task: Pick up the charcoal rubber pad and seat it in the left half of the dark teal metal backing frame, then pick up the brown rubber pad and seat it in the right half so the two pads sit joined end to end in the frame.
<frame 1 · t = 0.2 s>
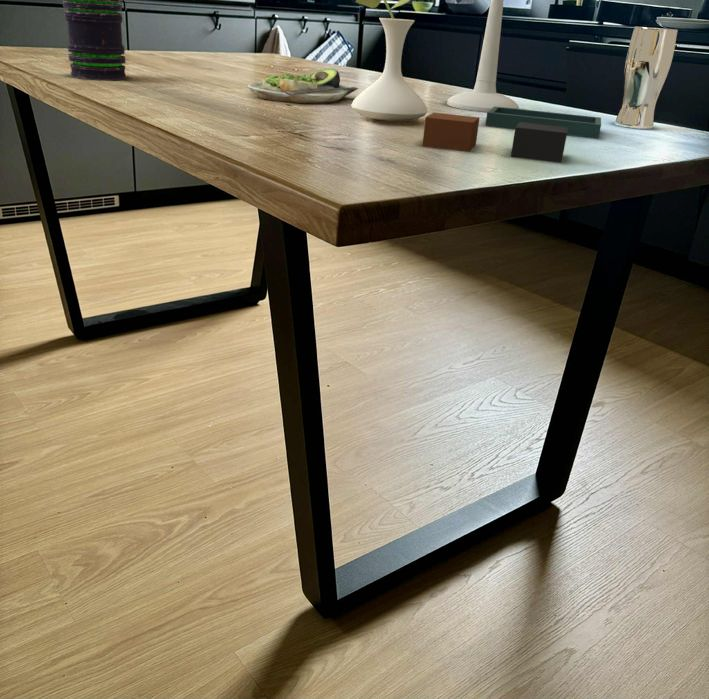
storage jar: (98, 77, 132), on the table
salad plate: (301, 97, 126), on the table
pad a: (537, 156, 88), on the table
flower in vase: (383, 120, 108), on the table
frame: (542, 128, 110), on the table
beer glass: (633, 127, 120), on the table
pad b: (449, 145, 91), on the table
candlestick: (482, 108, 130), on the table
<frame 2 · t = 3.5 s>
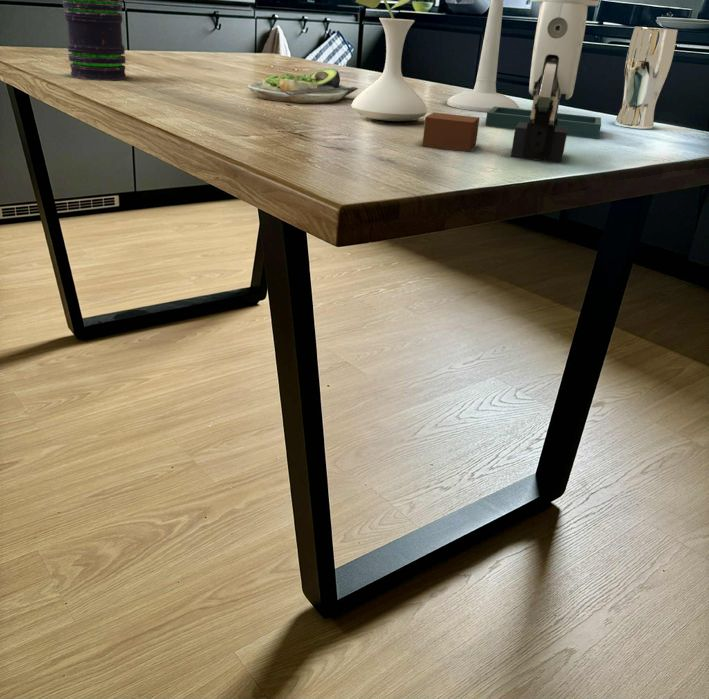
hand: (537, 152, 88), 0 cm above the table, tool pointing down, fingers closed on pad a, 5 cm apart
pad a: (537, 156, 88), on the table, touching gripper
everything else where it was.
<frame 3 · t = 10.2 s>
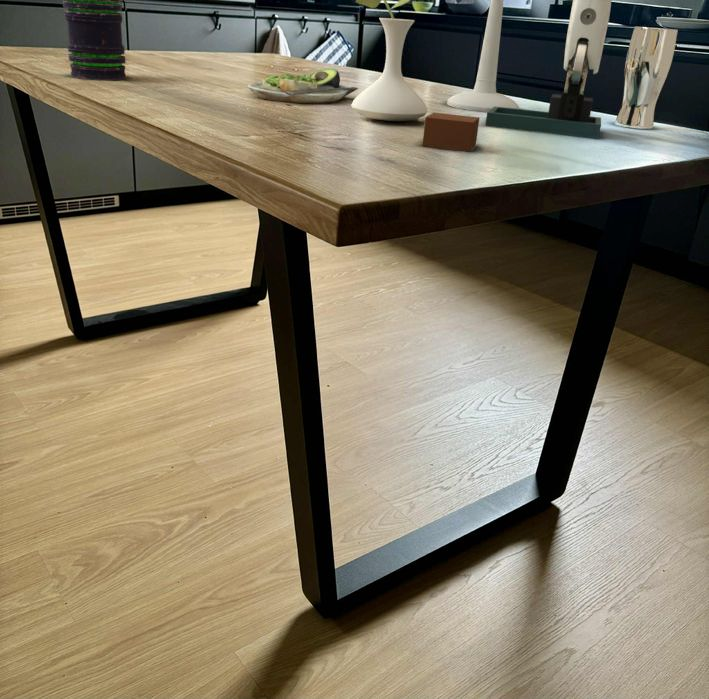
hand: (568, 118, 109), 2 cm above the table, tool pointing down, fingers closed on pad a, 5 cm apart
pad a: (567, 121, 109), point 1 cm above the table, touching gripper
everything else where it was.
when the fingers open (2 cm above the table, at t = 14.5 s): pad a drops 1 cm, resting on frame.
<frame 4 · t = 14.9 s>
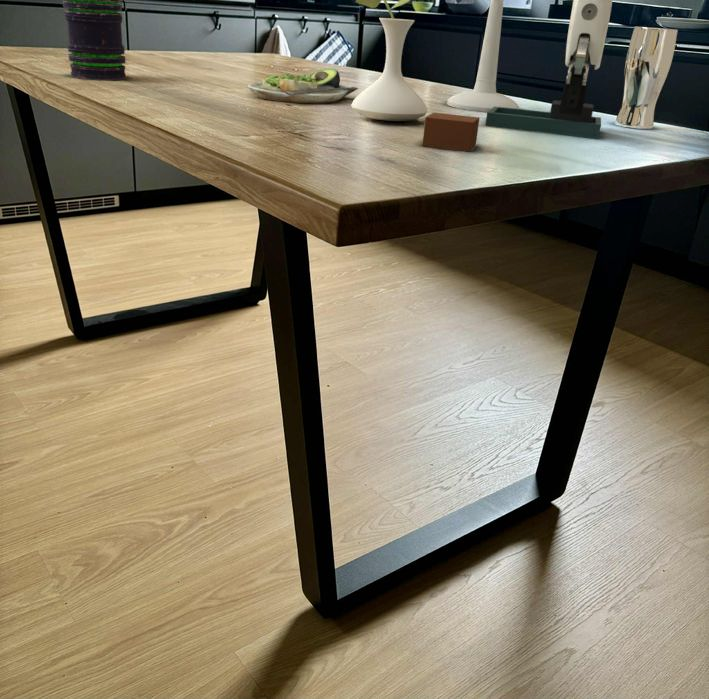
hand: (571, 110, 108), 3 cm above the table, tool pointing down, fingers open, 8 cm apart
pad a: (568, 127, 109), resting on frame
everything else where it was.
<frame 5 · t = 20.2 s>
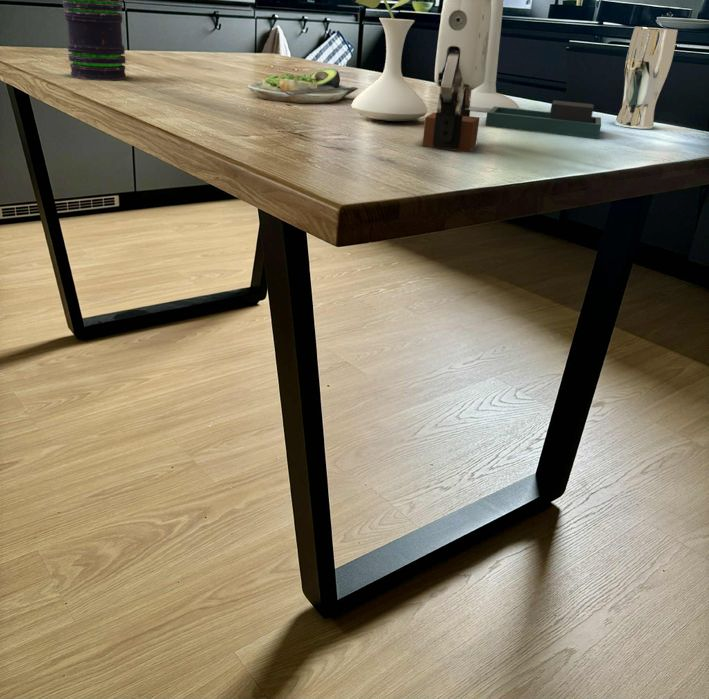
hand: (449, 142, 91), 0 cm above the table, tool pointing down, fingers closed on pad b, 5 cm apart
pad b: (449, 145, 91), on the table, touching gripper
everything else where it was.
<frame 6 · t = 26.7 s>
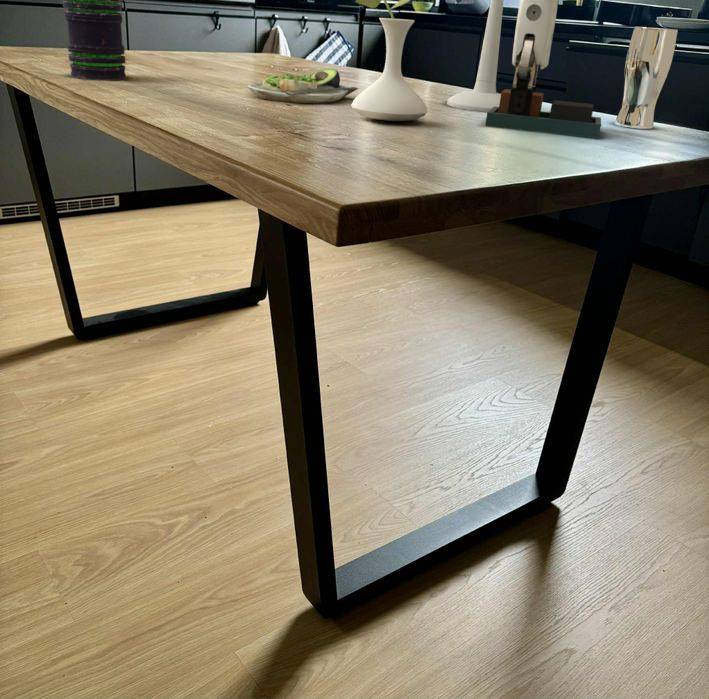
hand: (519, 113, 110), 2 cm above the table, tool pointing down, fingers closed on pad b, 5 cm apart
pad b: (519, 116, 111), point 1 cm above the table, touching gripper
everything else where it was.
when the fingers open (2 cm above the table, at t = 31.1 s): pad b drops 1 cm, resting on frame.
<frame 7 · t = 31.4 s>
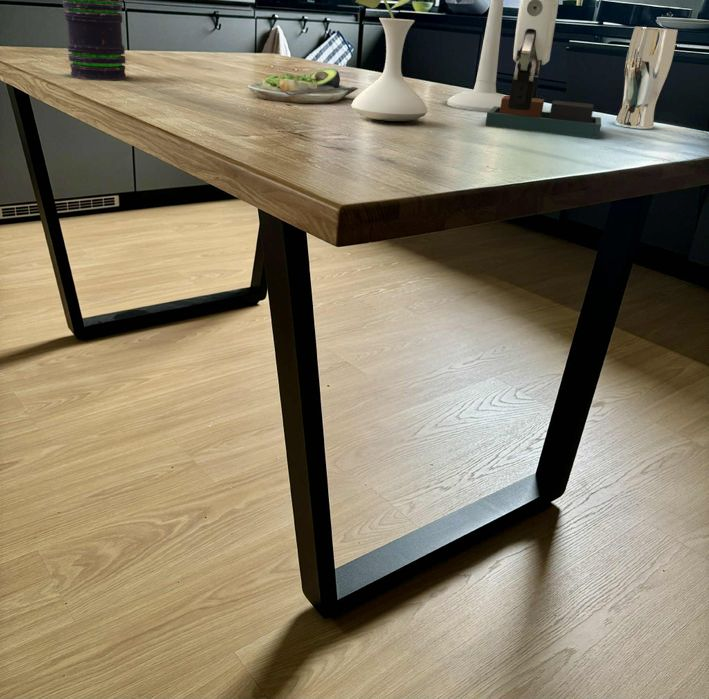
hand: (521, 105, 110), 3 cm above the table, tool pointing down, fingers open, 8 cm apart
pad b: (519, 122, 111), resting on frame
everything else where it was.
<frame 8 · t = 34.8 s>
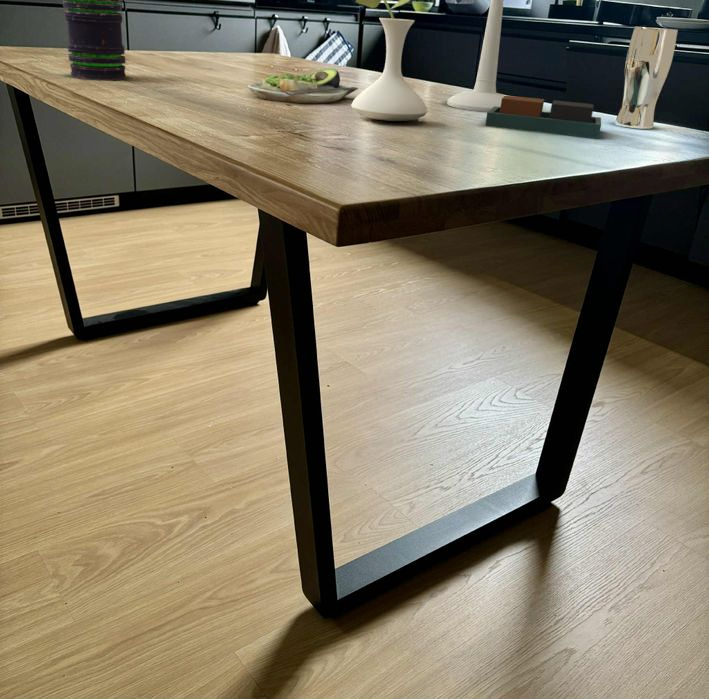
nothing on the table moved.
at the end: pad a 0.0 cm from the target spot in the frame, point 0.5 cm above the frame's base; pad b 0.1 cm from the target spot in the frame, point 0.5 cm above the frame's base; pad b tilted 0° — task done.
